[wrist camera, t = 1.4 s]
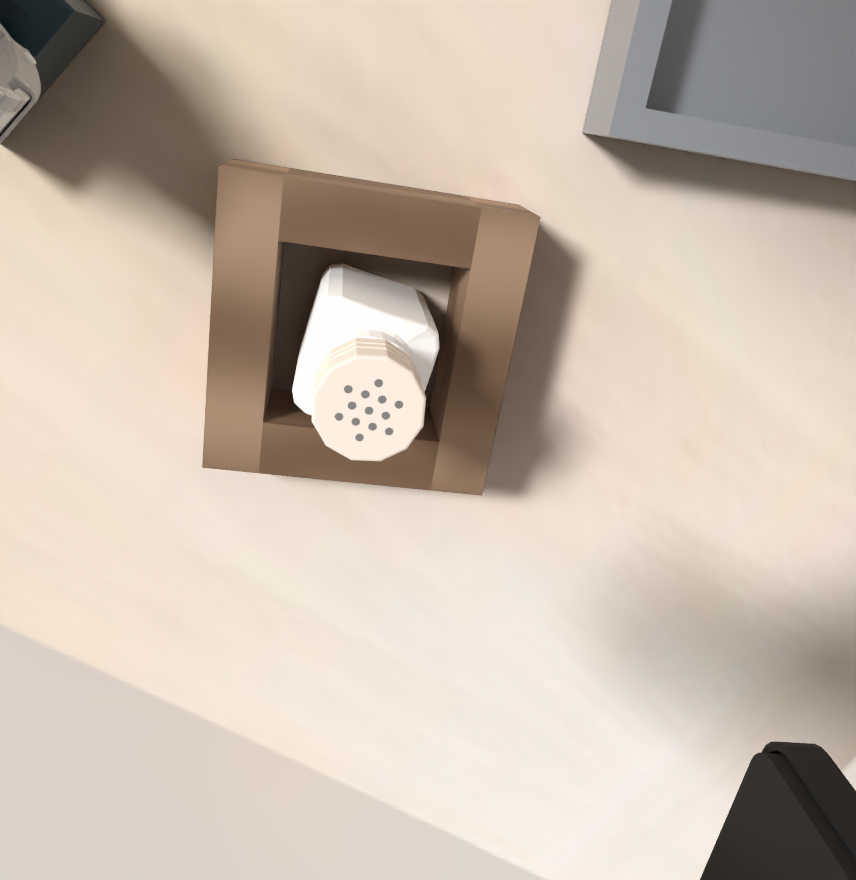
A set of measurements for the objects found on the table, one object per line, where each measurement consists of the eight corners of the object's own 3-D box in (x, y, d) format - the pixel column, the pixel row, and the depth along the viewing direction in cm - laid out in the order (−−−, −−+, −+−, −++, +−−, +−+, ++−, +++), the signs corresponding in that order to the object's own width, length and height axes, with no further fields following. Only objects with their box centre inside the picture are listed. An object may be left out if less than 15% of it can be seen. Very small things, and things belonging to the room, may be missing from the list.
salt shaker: (393, 383, 31) (413, 491, 22) (297, 353, 30) (277, 454, 21) (427, 289, 29) (462, 366, 21) (327, 255, 29) (319, 320, 20)
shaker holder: (233, 159, 27) (218, 165, 24) (518, 204, 29) (540, 217, 25) (217, 430, 31) (202, 467, 28) (468, 456, 32) (482, 495, 29)
